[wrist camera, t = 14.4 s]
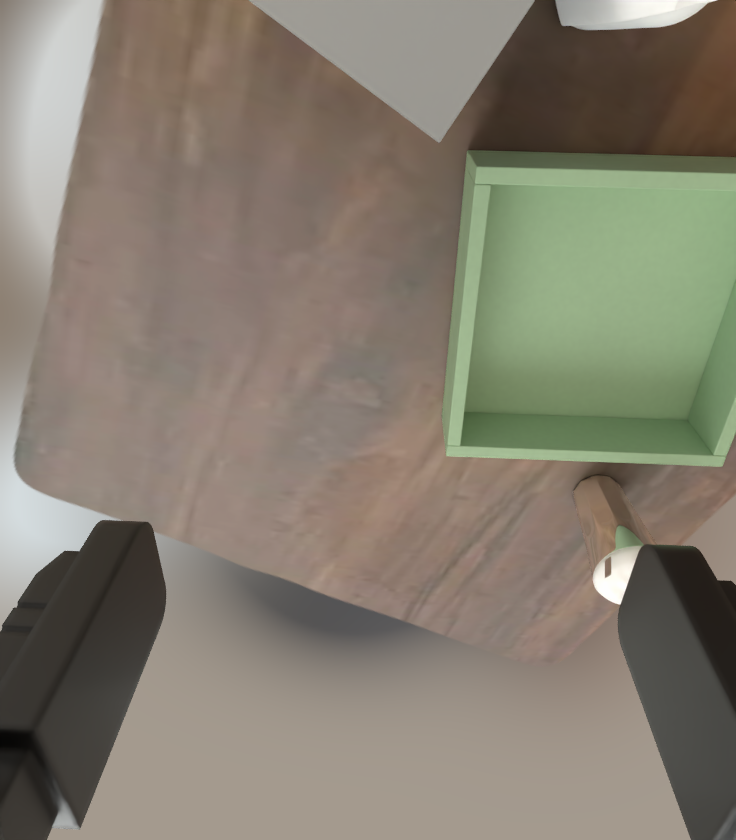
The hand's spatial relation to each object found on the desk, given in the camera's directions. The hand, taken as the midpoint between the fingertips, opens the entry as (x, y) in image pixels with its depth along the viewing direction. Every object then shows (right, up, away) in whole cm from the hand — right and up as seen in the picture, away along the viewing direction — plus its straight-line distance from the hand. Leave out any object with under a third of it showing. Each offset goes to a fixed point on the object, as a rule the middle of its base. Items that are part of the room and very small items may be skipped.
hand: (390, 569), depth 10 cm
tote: (+13, +9, +27) cm, 31 cm away
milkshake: (+16, -2, +34) cm, 38 cm away
